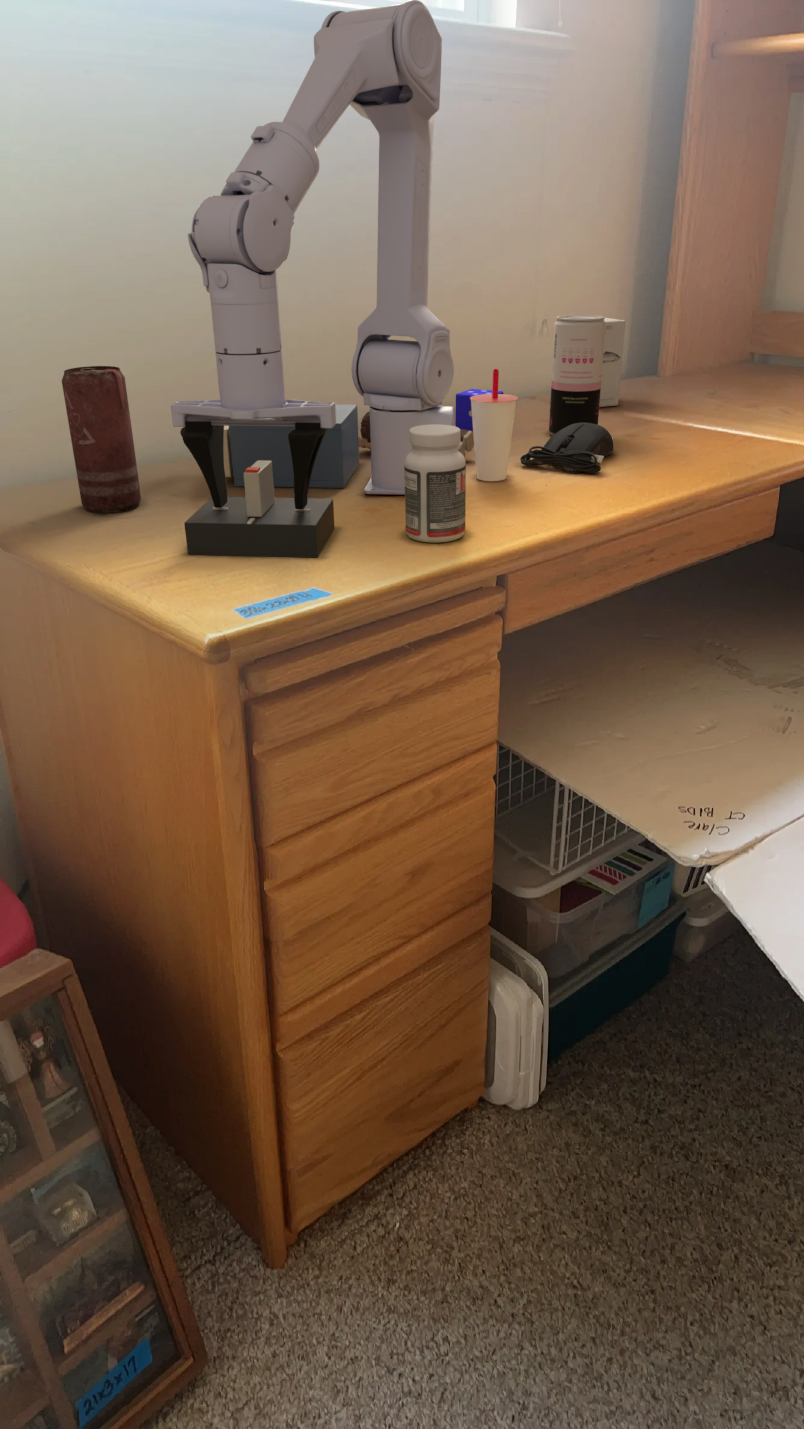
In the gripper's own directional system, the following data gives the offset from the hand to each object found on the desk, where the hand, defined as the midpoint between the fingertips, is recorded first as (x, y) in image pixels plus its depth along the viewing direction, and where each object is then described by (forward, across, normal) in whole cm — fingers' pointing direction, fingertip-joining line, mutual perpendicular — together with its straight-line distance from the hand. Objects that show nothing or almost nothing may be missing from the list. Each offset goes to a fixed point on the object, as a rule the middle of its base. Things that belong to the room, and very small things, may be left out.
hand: (261, 505), depth 91 cm
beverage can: (+4, +30, +51) cm, 60 cm away
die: (+4, +17, +54) cm, 57 cm away
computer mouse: (+4, +31, +36) cm, 48 cm away
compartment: (+3, -2, +26) cm, 26 cm away
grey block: (0, 0, 0) cm, 0 cm away
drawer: (+2, -7, +26) cm, 27 cm away
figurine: (+4, +11, +38) cm, 40 cm away
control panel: (+3, 0, 0) cm, 3 cm away
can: (+4, -19, +11) cm, 22 cm away
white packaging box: (+4, +33, +74) cm, 82 cm away
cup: (+4, +20, +26) cm, 33 cm away
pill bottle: (+4, +16, +3) cm, 17 cm away
